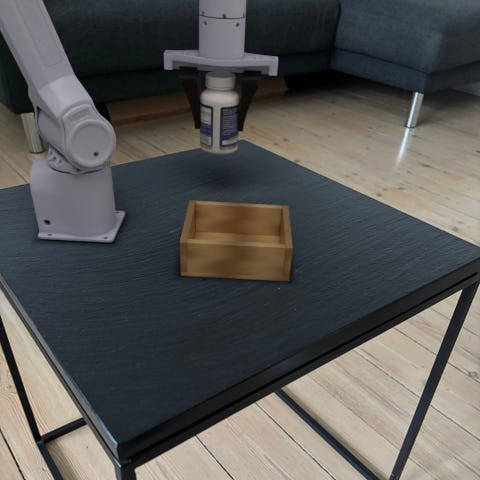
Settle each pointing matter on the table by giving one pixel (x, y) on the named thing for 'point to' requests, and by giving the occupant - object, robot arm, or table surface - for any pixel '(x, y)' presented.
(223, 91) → the pill bottle
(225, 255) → the bin
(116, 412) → the table surface
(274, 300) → the table surface
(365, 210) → the table surface
